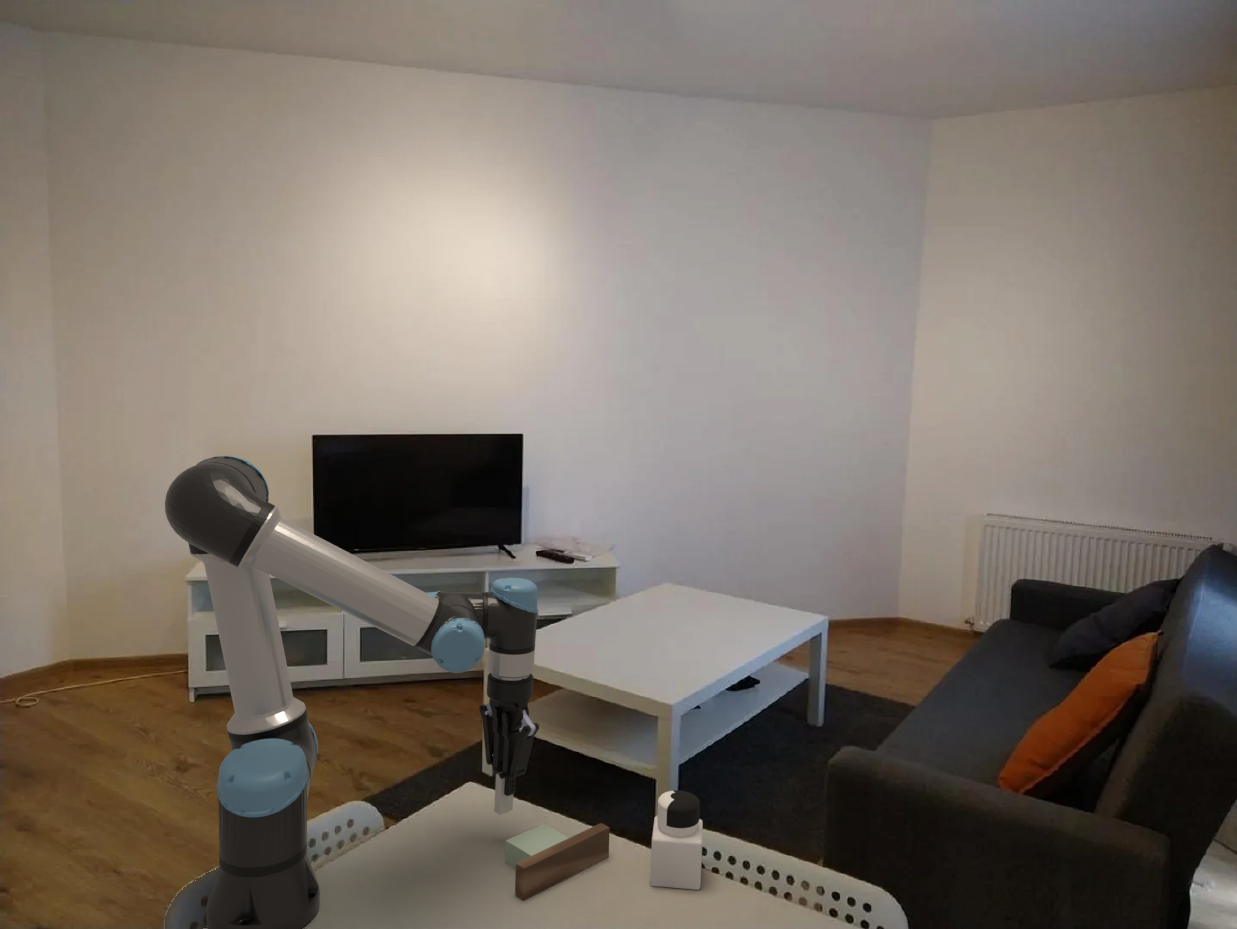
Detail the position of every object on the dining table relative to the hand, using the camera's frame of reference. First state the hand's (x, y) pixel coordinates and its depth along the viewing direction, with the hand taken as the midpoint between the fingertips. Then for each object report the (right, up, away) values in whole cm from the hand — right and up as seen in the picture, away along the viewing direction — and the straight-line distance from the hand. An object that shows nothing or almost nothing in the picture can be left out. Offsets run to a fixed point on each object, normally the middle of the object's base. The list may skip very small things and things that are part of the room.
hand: (503, 810), depth 150 cm
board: (+11, -7, -9) cm, 15 cm away
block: (+7, -7, -6) cm, 11 cm away
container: (+28, -7, -8) cm, 30 cm away
